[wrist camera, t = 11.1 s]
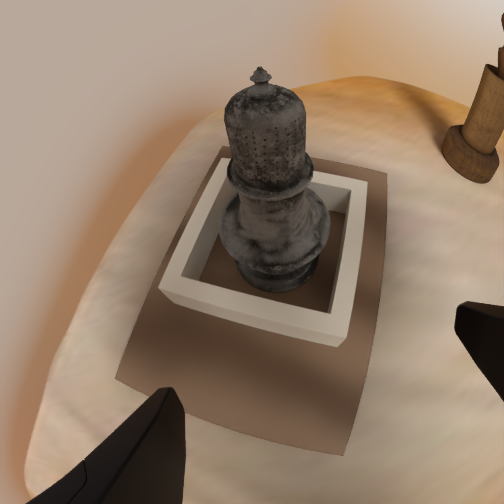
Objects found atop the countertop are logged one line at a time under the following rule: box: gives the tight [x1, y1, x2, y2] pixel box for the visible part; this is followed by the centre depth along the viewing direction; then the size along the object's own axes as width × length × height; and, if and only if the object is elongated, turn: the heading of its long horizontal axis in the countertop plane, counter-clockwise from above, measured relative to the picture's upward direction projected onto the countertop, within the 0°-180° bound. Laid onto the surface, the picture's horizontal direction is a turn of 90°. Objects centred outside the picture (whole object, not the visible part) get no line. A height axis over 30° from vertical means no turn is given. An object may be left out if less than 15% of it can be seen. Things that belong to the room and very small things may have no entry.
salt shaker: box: [219, 67, 331, 293], centre depth 13 cm, size 6×6×12 cm
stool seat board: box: [115, 146, 387, 456], centre depth 17 cm, size 20×14×4 cm
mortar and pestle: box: [442, 13, 504, 184], centre depth 14 cm, size 7×6×18 cm
